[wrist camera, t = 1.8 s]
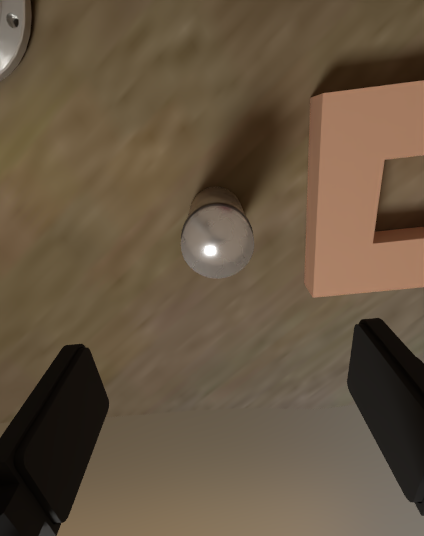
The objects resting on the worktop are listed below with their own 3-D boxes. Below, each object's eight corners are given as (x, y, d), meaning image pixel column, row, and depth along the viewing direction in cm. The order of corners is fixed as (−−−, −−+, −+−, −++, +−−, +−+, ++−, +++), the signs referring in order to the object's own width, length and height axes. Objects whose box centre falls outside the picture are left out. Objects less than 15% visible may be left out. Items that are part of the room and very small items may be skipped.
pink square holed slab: (310, 97, 24) (322, 93, 21) (532, 69, 23) (575, 60, 20) (304, 283, 32) (313, 297, 29) (471, 267, 31) (496, 280, 28)
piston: (184, 188, 27) (173, 213, 19) (240, 182, 27) (253, 203, 19) (192, 241, 30) (185, 282, 21) (244, 236, 29) (257, 275, 21)
